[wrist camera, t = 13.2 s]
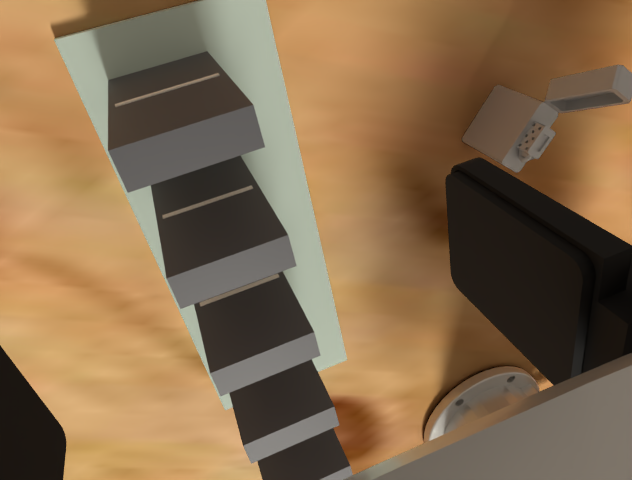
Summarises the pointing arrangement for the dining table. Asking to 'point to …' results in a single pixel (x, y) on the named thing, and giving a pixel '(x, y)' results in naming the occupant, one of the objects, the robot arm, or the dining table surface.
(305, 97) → the dining table surface
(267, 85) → the mat
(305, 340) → the domino
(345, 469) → the domino
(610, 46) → the dining table surface
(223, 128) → the domino
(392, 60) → the dining table surface
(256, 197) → the domino
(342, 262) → the dining table surface
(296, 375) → the domino
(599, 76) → the lighter
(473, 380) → the robot arm
